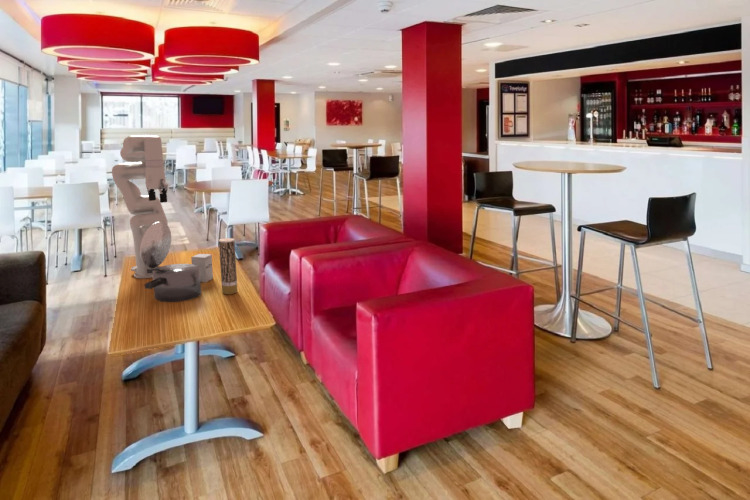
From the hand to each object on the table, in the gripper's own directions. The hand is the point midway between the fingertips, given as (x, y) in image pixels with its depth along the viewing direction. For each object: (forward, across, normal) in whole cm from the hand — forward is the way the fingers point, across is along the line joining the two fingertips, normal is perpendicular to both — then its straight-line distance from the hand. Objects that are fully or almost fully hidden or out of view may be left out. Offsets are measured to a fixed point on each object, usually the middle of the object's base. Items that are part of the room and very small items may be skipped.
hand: (158, 201), depth 253 cm
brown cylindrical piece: (+41, +32, +13) cm, 54 cm away
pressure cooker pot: (+41, +17, -9) cm, 45 cm away
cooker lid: (+18, +8, -7) cm, 21 cm away
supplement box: (+41, +4, +18) cm, 45 cm away
